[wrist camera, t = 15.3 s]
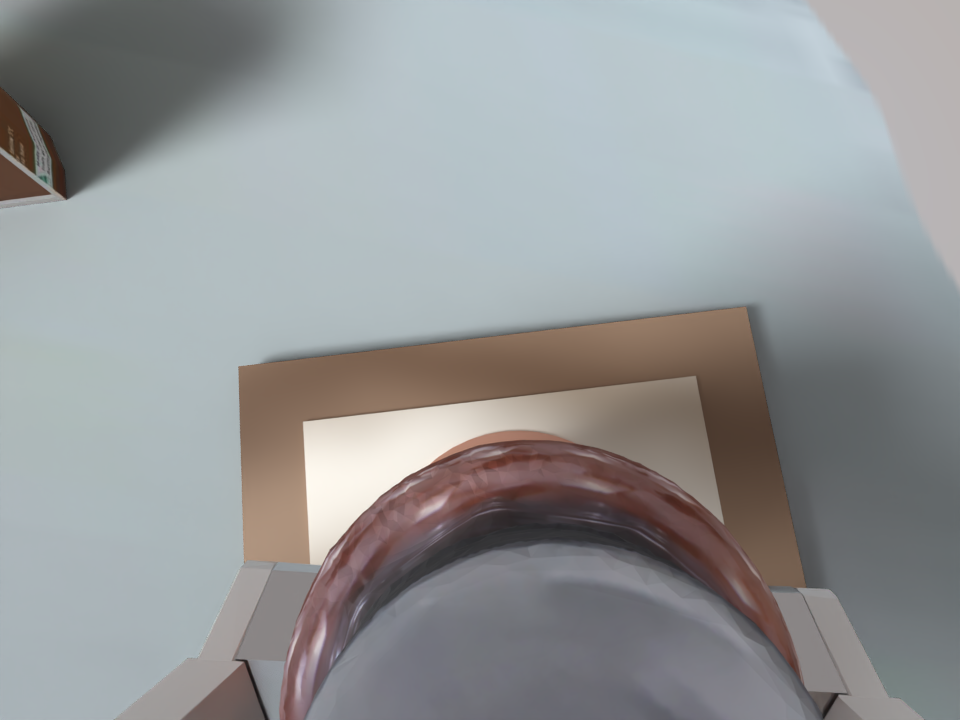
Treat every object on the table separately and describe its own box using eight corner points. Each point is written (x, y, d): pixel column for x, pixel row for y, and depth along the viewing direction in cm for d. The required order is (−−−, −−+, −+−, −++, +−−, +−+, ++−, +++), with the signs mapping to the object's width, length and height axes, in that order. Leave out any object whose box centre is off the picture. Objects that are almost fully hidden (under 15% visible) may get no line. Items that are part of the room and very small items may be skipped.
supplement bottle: (459, 425, 16) (373, 272, 5) (672, 522, 15) (1146, 602, 4) (357, 647, 15) (-61, 1116, 4) (582, 761, 14) (900, 1754, 3)
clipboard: (874, 969, 16) (912, 1019, 14) (270, 1034, 16) (247, 1089, 14) (736, 313, 19) (755, 300, 18) (248, 371, 20) (228, 361, 18)
